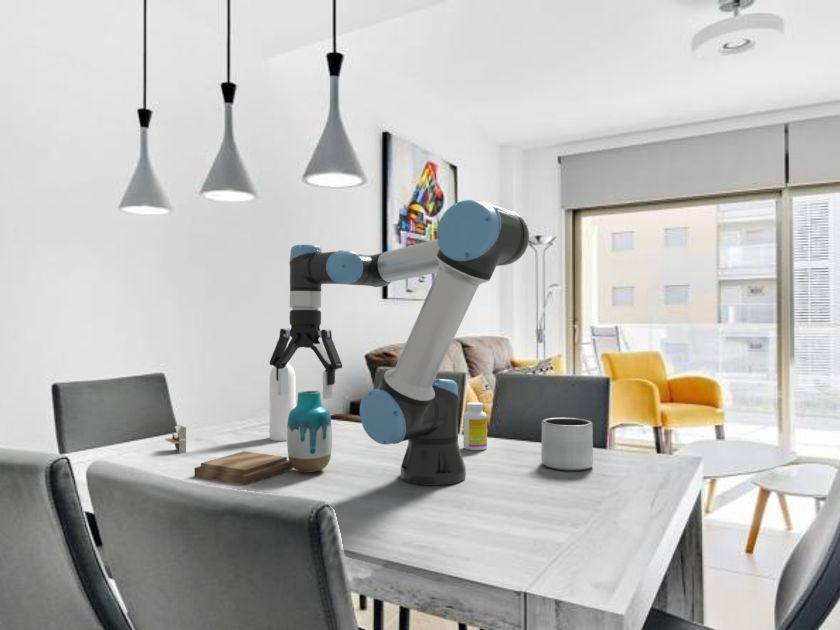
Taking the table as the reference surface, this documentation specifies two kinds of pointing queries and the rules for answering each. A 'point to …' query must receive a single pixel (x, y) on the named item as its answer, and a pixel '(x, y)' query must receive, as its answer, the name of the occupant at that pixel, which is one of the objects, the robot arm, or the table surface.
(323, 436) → the vase
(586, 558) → the table surface
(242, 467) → the pedestal
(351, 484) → the table surface
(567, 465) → the planter
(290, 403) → the bottle
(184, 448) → the architectural model
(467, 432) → the supplement bottle
